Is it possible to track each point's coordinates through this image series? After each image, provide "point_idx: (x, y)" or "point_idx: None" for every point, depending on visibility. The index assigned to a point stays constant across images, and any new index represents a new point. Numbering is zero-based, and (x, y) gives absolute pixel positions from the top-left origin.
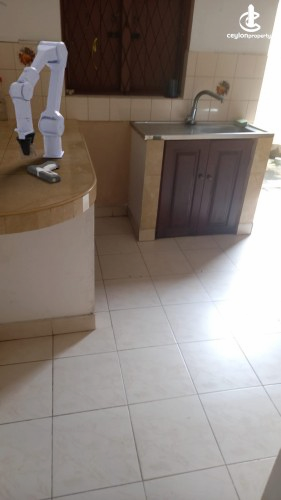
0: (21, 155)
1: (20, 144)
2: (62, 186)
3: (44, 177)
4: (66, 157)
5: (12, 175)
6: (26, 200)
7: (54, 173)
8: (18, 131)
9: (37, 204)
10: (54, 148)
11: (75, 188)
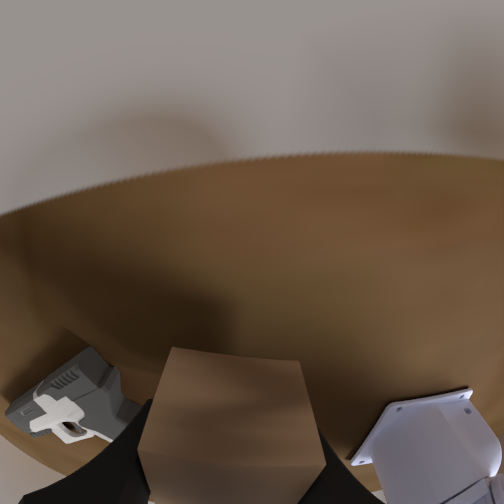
0: (163, 377)
1: (76, 475)
2: (5, 415)
3: (22, 396)
4: (357, 468)
5: (17, 258)
6: None
7: (65, 437)
8: None
9: None
10: (381, 480)
11: (10, 433)
